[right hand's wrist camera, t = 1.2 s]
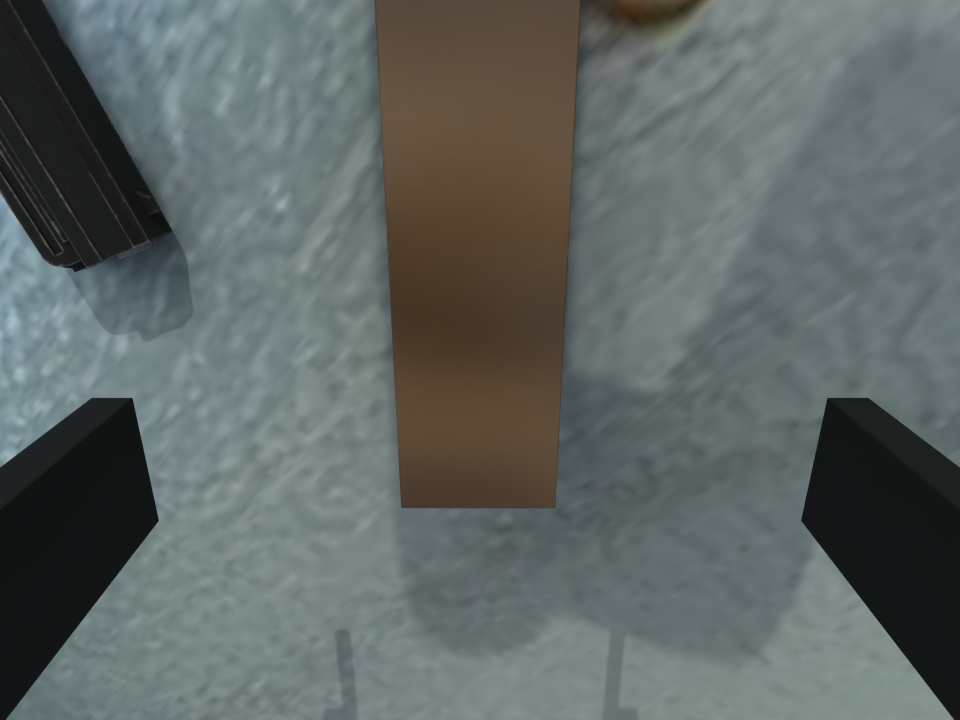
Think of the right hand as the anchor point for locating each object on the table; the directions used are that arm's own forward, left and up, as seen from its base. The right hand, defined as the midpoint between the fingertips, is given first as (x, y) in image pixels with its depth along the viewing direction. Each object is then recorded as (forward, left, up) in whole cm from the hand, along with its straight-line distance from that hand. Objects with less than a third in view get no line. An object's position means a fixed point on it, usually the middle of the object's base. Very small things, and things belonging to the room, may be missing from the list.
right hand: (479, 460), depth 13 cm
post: (+18, +20, -14) cm, 30 cm away
